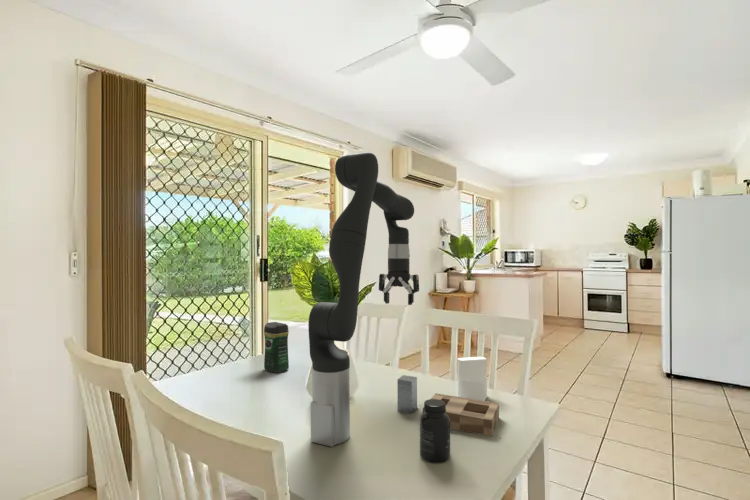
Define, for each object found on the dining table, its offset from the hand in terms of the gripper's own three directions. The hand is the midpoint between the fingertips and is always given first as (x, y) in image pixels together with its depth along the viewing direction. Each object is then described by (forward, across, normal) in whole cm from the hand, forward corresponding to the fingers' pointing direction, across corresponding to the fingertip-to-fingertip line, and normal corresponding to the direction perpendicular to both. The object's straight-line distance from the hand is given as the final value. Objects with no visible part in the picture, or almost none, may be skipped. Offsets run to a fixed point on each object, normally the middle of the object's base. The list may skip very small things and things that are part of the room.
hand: (398, 304), depth 135 cm
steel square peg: (+28, +10, -18) cm, 35 cm away
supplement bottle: (+29, +25, -40) cm, 56 cm away
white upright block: (+28, +25, 0) cm, 38 cm away
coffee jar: (+28, -50, -4) cm, 57 cm away
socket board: (+28, +26, -20) cm, 43 cm away
